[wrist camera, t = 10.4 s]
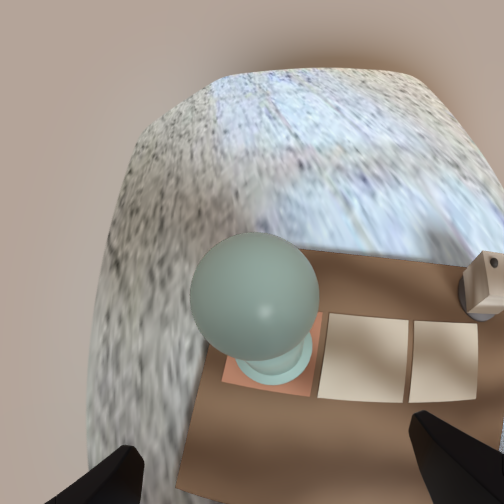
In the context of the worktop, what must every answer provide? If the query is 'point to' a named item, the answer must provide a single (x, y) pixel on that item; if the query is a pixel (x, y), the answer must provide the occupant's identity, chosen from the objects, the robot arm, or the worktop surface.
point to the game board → (356, 388)
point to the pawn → (257, 305)
